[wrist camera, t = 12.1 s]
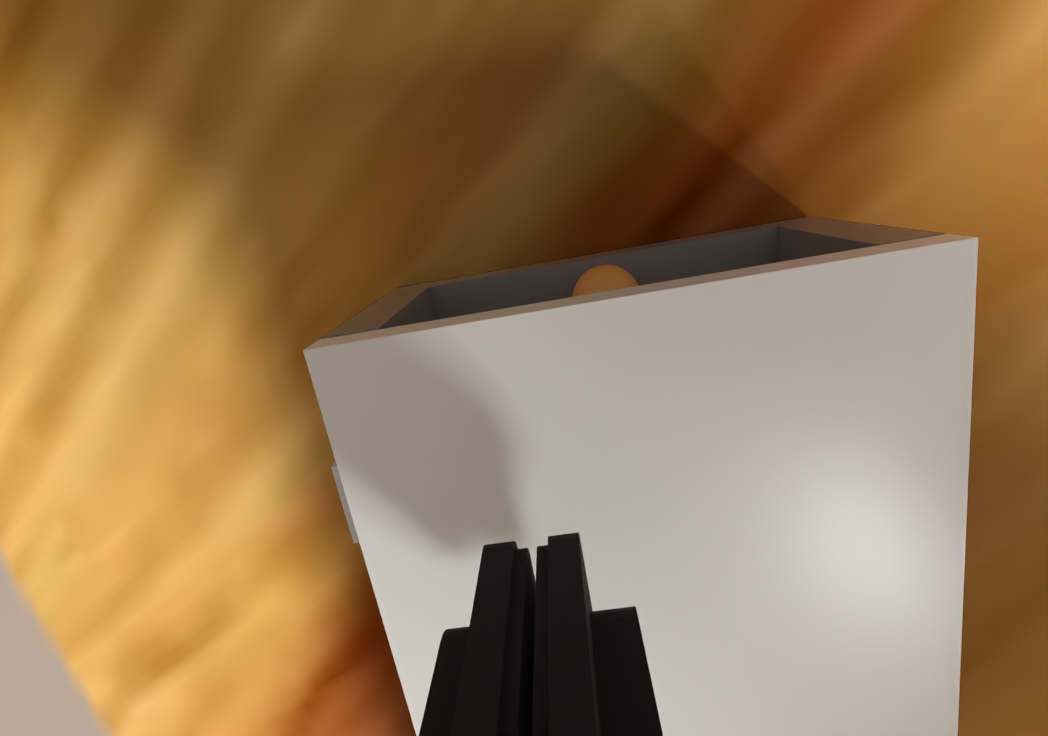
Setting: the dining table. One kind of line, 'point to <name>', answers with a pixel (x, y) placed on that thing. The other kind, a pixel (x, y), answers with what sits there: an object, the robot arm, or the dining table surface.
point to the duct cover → (692, 479)
